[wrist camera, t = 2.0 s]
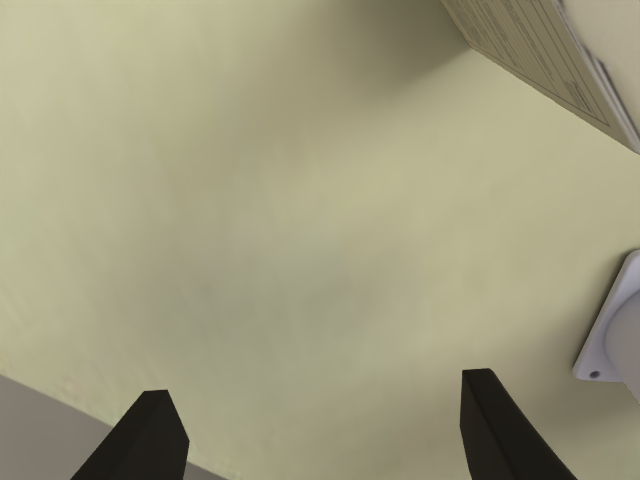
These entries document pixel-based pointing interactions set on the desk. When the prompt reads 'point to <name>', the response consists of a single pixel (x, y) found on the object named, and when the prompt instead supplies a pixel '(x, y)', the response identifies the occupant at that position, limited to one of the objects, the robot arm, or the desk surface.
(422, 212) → the desk surface
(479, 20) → the box
